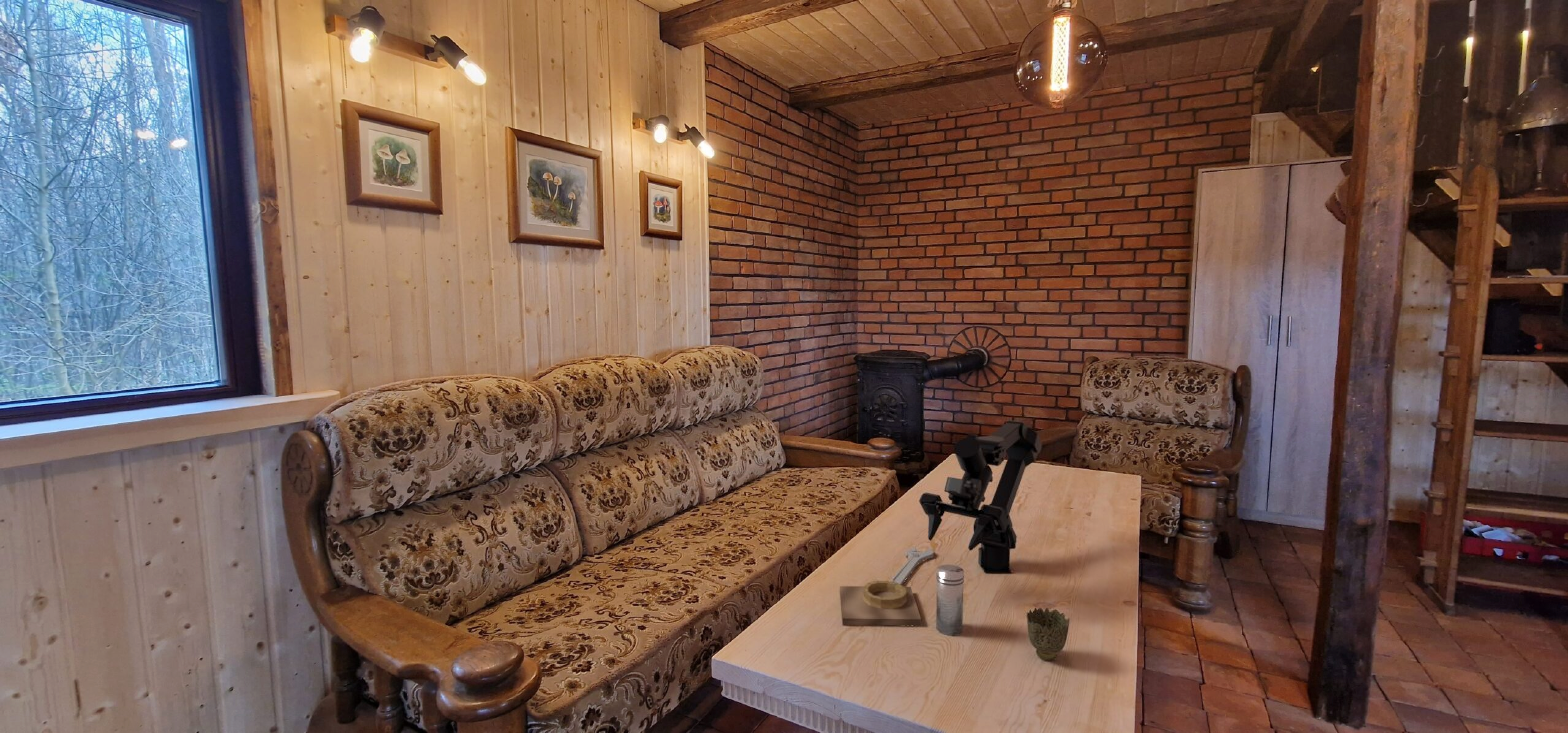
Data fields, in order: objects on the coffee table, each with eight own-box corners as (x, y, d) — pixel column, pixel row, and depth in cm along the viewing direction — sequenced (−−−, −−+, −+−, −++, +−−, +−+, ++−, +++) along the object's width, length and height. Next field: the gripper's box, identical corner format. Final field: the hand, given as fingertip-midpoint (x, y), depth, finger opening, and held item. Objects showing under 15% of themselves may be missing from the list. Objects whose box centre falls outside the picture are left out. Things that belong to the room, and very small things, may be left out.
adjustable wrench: (897, 593, 154) (897, 586, 154) (872, 587, 157) (872, 579, 157) (936, 555, 175) (936, 549, 175) (913, 550, 178) (913, 544, 178)
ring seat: (910, 593, 153) (910, 578, 152) (921, 626, 138) (921, 609, 138) (839, 592, 154) (839, 577, 153) (842, 625, 139) (842, 609, 138)
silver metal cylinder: (959, 622, 139) (960, 564, 138) (965, 636, 134) (966, 575, 132) (933, 622, 139) (934, 564, 138) (938, 635, 134) (939, 575, 133)
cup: (1018, 647, 129) (1019, 607, 129) (1055, 645, 130) (1057, 606, 129) (1036, 669, 122) (1037, 627, 121) (1075, 667, 123) (1077, 625, 122)
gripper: (925, 457, 153) (898, 513, 145) (1006, 470, 141) (982, 532, 133) (939, 486, 159) (914, 542, 151) (1017, 501, 148) (995, 562, 140)
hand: (949, 544), depth 144 cm, fingers open, 9 cm apart
